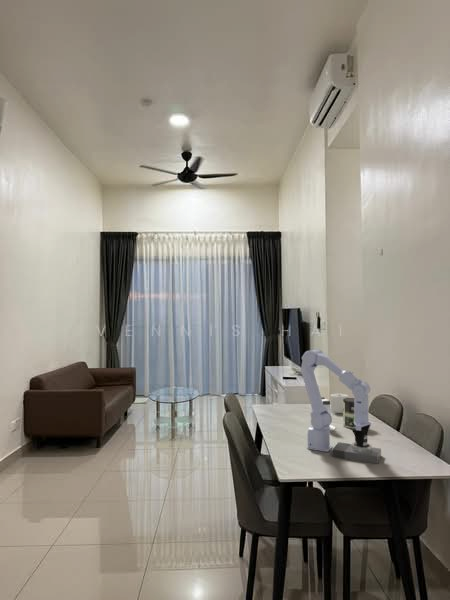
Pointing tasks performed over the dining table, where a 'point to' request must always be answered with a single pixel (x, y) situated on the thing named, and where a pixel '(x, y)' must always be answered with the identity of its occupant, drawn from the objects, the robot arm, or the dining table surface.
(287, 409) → the dining table surface
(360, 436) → the robot arm
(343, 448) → the camera body
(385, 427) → the dining table surface
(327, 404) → the panda figurine
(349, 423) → the coffee can
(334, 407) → the toilet tissue
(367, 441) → the lens
